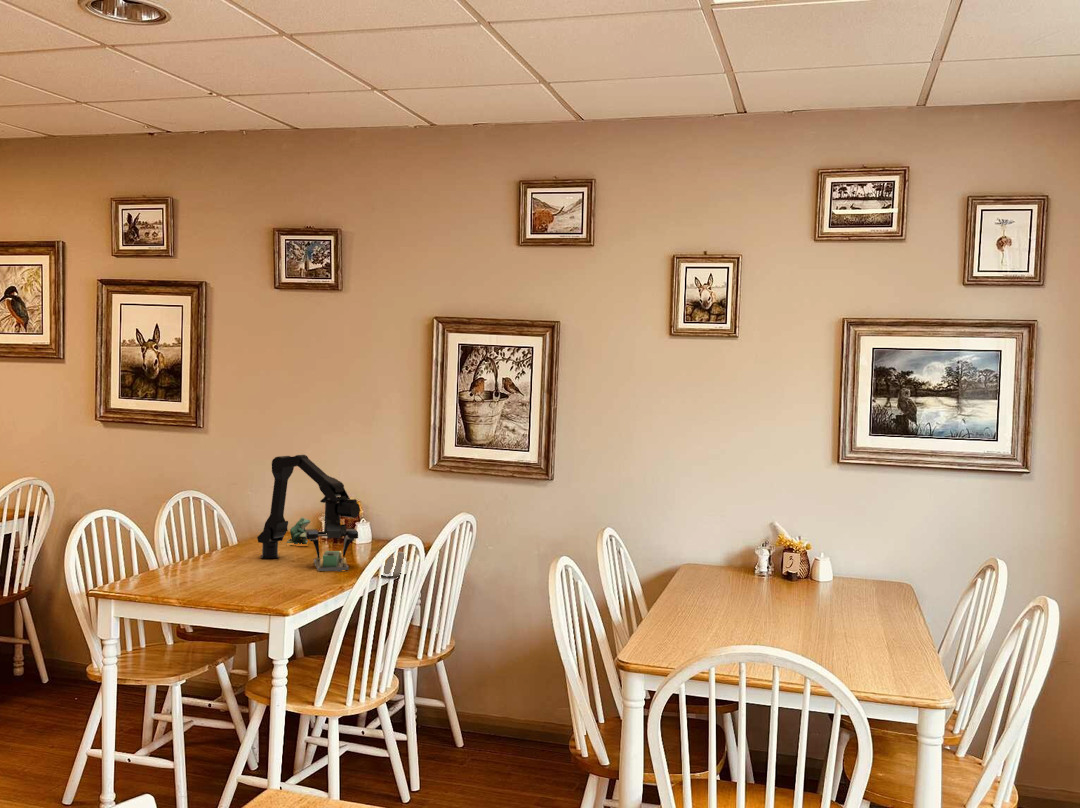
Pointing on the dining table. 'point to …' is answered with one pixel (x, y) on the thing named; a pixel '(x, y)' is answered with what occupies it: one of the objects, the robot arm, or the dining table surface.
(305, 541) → the frog figurine
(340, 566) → the chassis
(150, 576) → the dining table surface
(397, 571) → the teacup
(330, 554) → the board
